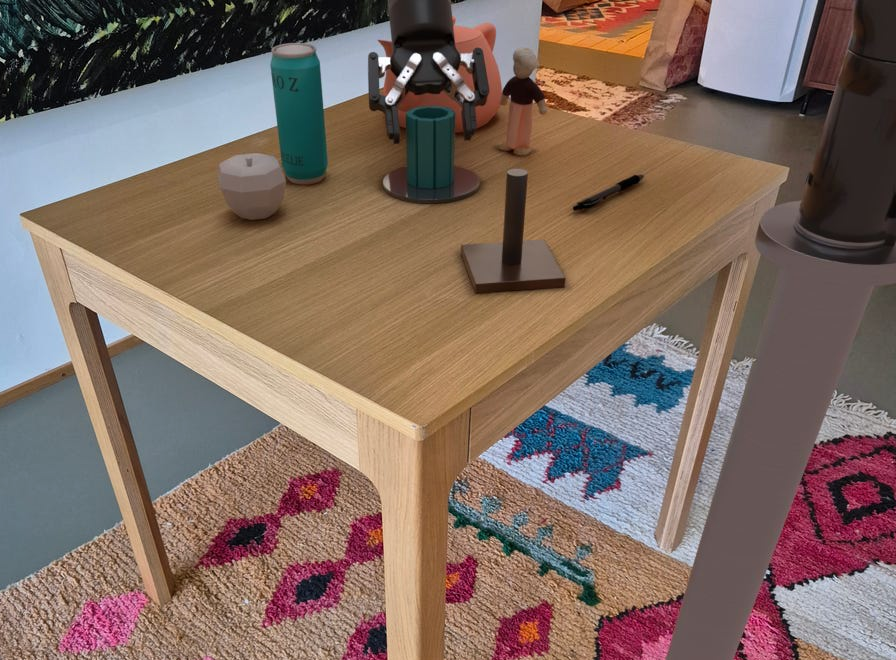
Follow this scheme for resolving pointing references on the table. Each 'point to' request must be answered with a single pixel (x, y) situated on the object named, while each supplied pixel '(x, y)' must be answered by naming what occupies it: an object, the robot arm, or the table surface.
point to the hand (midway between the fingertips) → (432, 139)
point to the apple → (252, 185)
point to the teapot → (464, 43)
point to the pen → (607, 192)
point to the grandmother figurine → (521, 102)
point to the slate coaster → (459, 189)
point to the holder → (512, 250)
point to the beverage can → (299, 112)
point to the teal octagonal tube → (430, 146)
